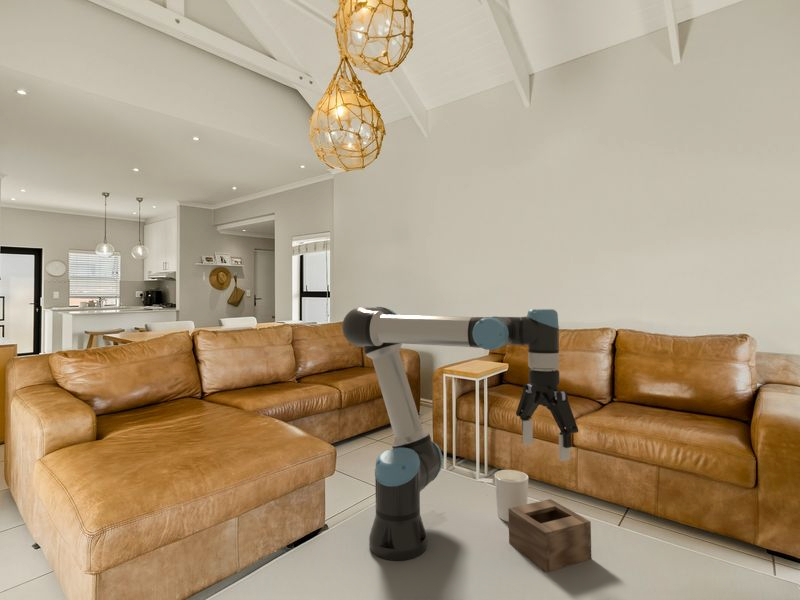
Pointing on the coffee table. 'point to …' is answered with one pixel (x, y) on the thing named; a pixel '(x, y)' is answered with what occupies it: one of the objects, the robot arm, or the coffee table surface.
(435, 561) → the coffee table surface
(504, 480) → the candle holder
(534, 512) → the box
